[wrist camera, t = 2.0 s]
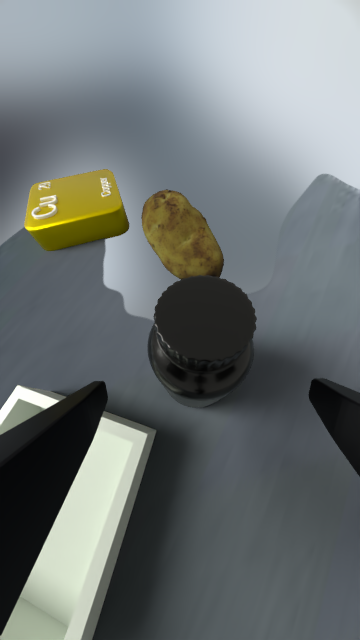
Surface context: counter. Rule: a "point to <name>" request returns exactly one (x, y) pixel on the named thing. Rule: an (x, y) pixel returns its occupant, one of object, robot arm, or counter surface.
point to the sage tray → (79, 527)
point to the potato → (181, 236)
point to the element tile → (75, 210)
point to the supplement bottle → (202, 339)
